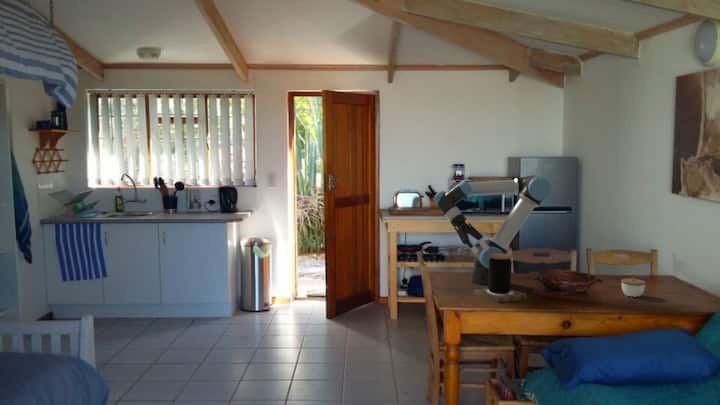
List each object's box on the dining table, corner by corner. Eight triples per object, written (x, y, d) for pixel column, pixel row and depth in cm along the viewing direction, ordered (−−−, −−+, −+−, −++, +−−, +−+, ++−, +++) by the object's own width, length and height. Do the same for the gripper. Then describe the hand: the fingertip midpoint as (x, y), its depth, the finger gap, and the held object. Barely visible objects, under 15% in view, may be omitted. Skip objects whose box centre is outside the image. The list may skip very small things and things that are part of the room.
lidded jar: (621, 297, 290) (622, 278, 289) (619, 292, 300) (621, 274, 299) (645, 299, 286) (646, 280, 285) (643, 294, 296) (644, 276, 295)
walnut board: (501, 290, 301) (501, 286, 301) (526, 298, 285) (526, 294, 285) (473, 294, 292) (473, 289, 292) (498, 302, 276) (498, 298, 276)
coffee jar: (510, 289, 293) (511, 254, 291) (510, 295, 282) (511, 258, 281) (488, 288, 295) (489, 252, 293) (487, 293, 285) (488, 256, 283)
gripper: (461, 220, 311) (487, 252, 303) (439, 224, 292) (466, 258, 284) (471, 211, 307) (497, 243, 299) (449, 214, 288) (476, 249, 280)
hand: (482, 251), depth 292 cm, fingers open, 12 cm apart
